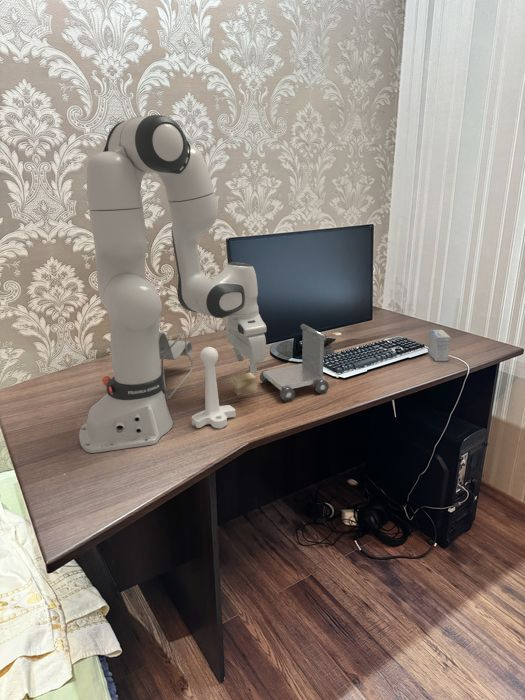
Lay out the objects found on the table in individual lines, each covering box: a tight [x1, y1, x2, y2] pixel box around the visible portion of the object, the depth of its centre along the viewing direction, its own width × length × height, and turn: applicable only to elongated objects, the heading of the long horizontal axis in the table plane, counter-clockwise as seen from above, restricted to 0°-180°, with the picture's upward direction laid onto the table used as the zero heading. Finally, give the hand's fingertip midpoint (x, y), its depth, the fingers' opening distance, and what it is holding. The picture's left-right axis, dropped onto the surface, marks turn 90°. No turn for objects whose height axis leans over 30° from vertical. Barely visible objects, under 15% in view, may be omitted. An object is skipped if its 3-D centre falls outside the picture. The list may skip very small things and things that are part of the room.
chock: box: [231, 372, 258, 396], centre depth 135 cm, size 6×4×4 cm, turn 115°
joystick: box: [191, 346, 236, 429], centre depth 115 cm, size 11×8×20 cm
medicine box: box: [427, 329, 451, 362], centre depth 156 cm, size 8×4×9 cm, turn 179°
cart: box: [259, 323, 330, 403], centre depth 134 cm, size 15×15×17 cm
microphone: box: [324, 337, 336, 347], centre depth 169 cm, size 6×6×20 cm
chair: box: [158, 332, 194, 401], centre depth 139 cm, size 13×25×20 cm, turn 169°
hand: (246, 365), depth 134 cm, fingers open, 8 cm apart
